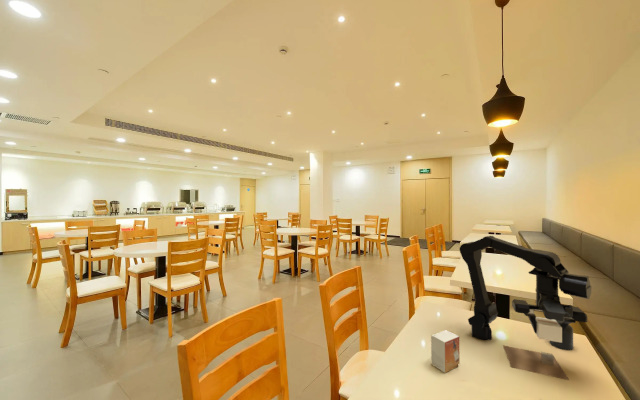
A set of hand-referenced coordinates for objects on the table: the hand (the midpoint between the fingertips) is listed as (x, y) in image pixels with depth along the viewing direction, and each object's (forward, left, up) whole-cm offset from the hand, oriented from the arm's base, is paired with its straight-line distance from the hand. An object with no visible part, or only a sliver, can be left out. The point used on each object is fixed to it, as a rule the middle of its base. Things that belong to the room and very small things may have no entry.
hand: (547, 334), depth 89 cm
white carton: (0, 0, 0) cm, 0 cm away
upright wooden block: (0, 0, -10) cm, 10 cm away
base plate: (-4, 0, -11) cm, 12 cm away
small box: (-31, -13, -11) cm, 36 cm away
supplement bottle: (+9, +16, -11) cm, 21 cm away
